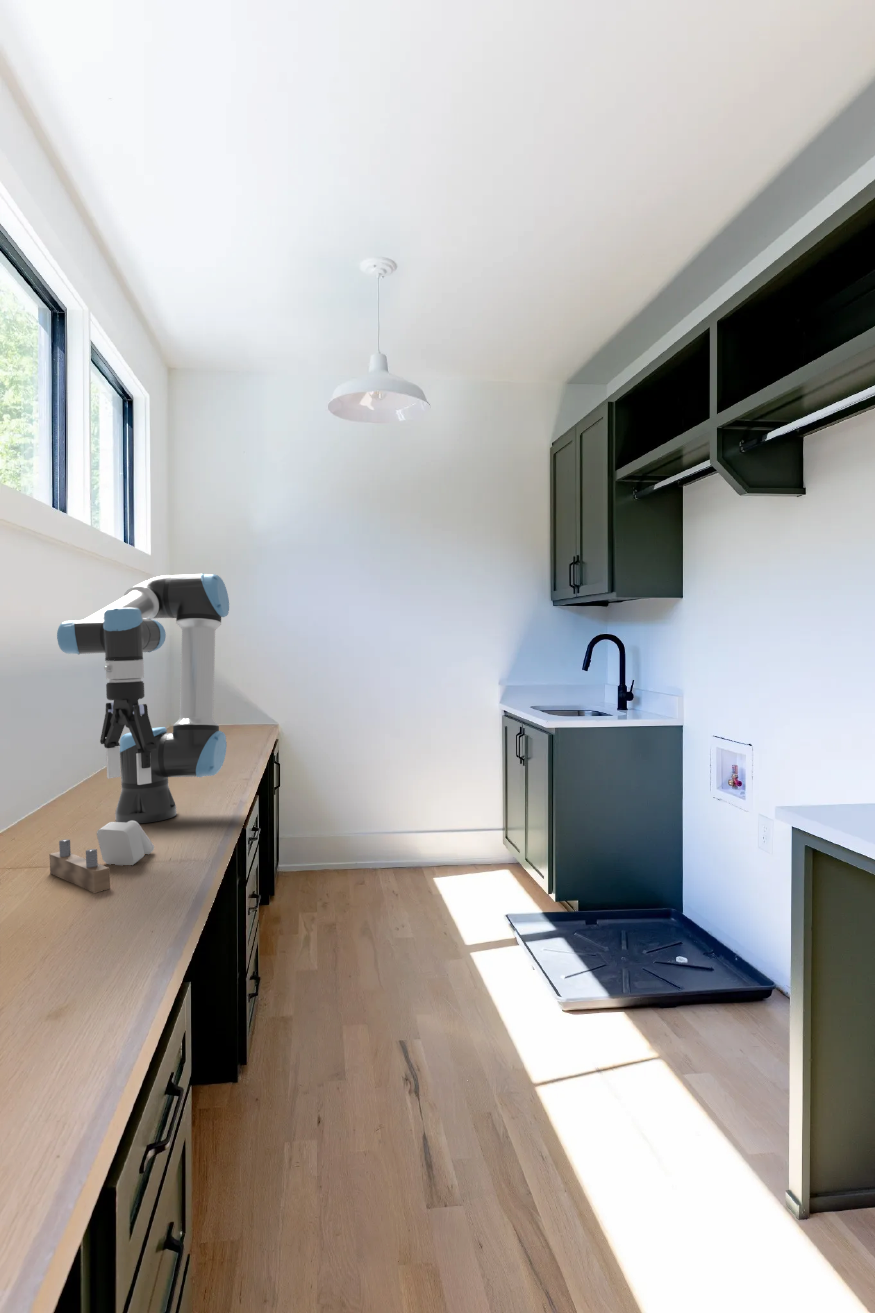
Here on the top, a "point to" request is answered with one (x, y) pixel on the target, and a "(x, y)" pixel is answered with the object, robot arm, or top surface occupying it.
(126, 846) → the white knobbed block
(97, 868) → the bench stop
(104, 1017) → the top surface
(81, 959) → the top surface
